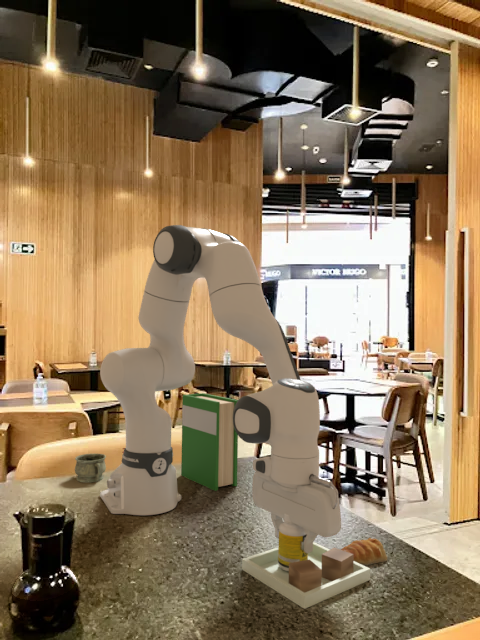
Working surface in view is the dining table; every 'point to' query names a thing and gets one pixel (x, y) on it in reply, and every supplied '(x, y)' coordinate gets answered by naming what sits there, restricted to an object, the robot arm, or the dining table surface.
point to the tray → (278, 579)
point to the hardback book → (209, 440)
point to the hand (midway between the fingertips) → (293, 544)
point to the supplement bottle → (290, 543)
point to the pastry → (367, 551)
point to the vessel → (90, 467)
